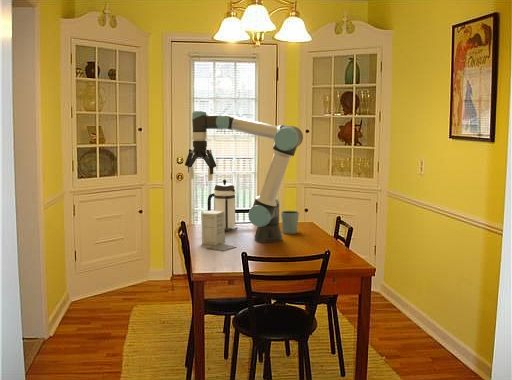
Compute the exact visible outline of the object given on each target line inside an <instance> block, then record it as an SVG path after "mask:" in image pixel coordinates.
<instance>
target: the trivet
mask: <svg viewBox="0 0 512 380" xmlns="http://www.w3.org/2000/svg"><path fill="white" fill-rule="evenodd" d="M236 248H237V245H232V244H226V243H225V244H224V243H221V244H217V245H211V246H206V249H207V250H213V251H217V252H218V251H220V252H226V251H229V250H230V251H231V250H233V249H236Z"/></svg>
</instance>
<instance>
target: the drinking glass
mask: <svg viewBox="0 0 512 380" xmlns="http://www.w3.org/2000/svg"><path fill="white" fill-rule="evenodd" d="M280 213H281V214H280V215H281V225H282V226H281V227H282V229H281V233H283V234H285V235H286V234H287V235H288V234H289V235H292V234H293V235H294V234H297V233H298V225H299V216H300V215H299V214H300V212H299V211H296V210H283V211H281V212H280Z"/></svg>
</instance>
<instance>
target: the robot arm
mask: <svg viewBox="0 0 512 380" xmlns="http://www.w3.org/2000/svg"><path fill="white" fill-rule="evenodd" d="M191 122H192V127H191V128H192V140H193V141H192V148H189V149H188V154H187V156H186V160H185V163H184V166H186V167H187V174H188V179H189V180H194V167H193V165H194V164H195V162H196V161H197V159H203V160H204V162H205V163H206V165H207V166H208V168H207V177H208V178H207V180H208V181H210V182H211V181H213V180H214V179H213V178H214V177H213V175H214V168H216V167H217V163H216V161H215V158H214V155H213V153H212V149H207V148H208V141H207V139H208V137H207V136H208V133H207V132H208V131H207V130H210V129H211V130H225V129H226V130H231V131H235V132H239V133H244V134H248V135H252V136H256V137H261V138H265V139H268V140H273V142H274V143H273V146H272V150H273V155H272V158H271V161H270V164H269V166H268V170H267V173H266V175H265V179H264V180H263V181H264V182H263V185H262V187H261V190H260V194H259V195H257V196H255V199H254V202H253V204H252V206H251V207H250V209H249V211H248V215H247V216H248V220H249V221H250V223H251V224H252V225H254V226H255V227H257V228H256V230H255V234H254V241H255V242H258V243H259V242H260V243H278V242H281V241H283V234H282V229H281V227H280V201H279V199H278V198H277V197H278V194H279V191H280V188H281V185H282V182H283V180H284V176H285V173H286V170H287V168H288V165H289V162H290V160H291V159H292V158H293V157H294V156H295V153H296V151H297V148H298V147H299V146H301V144H302V143H303V140H304V137H303V136H304V135H303V132H302V130H301V129H300V128H299V127H297V126H293V125H284V124H280V125H274V124H270V123H266V122H261V121H256V120H252V119H247V118H245V117H244V118H243V117H239V116H235V115H231V114H227V113H225V114H224V113H223V114H222V113H221V114H207V111H206V110H194V111H193V112H192V115H191Z"/></svg>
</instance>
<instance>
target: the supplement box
mask: <svg viewBox="0 0 512 380" xmlns="http://www.w3.org/2000/svg"><path fill="white" fill-rule="evenodd" d="M200 216H201V244H203V245H211V246H213V245H217V244H224V243H225V242H226V237H225V236H226V234H225V232H226V230H225V227H224V211H214V210H211V211H208V210H207V211H204V212H201V214H200Z"/></svg>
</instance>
